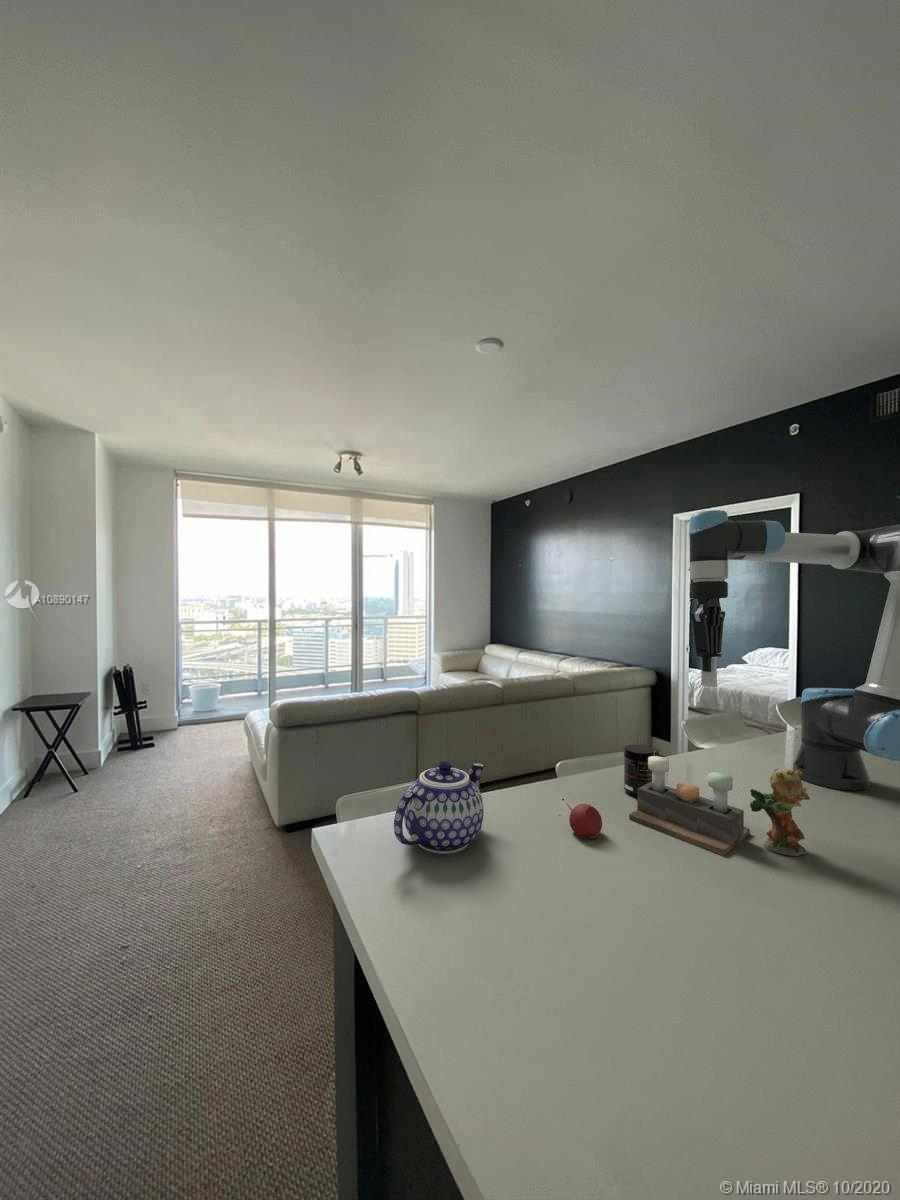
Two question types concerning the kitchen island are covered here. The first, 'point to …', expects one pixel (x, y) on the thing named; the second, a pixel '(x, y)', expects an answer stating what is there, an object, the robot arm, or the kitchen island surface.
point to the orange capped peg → (687, 792)
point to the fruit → (585, 821)
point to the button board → (690, 819)
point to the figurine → (782, 811)
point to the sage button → (720, 790)
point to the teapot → (442, 809)
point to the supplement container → (636, 767)
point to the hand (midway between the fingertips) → (709, 685)
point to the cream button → (658, 772)
